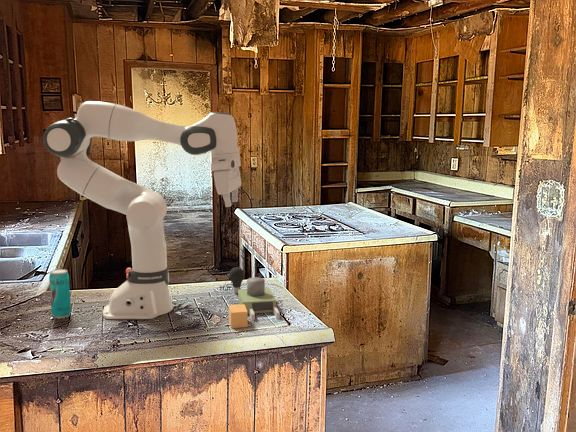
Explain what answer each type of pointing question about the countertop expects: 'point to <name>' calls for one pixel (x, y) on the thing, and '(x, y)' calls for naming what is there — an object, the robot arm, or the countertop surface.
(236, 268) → the light bulb
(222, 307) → the countertop surface
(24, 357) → the countertop surface
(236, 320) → the tall orange cuboid
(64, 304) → the beverage can
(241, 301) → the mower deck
